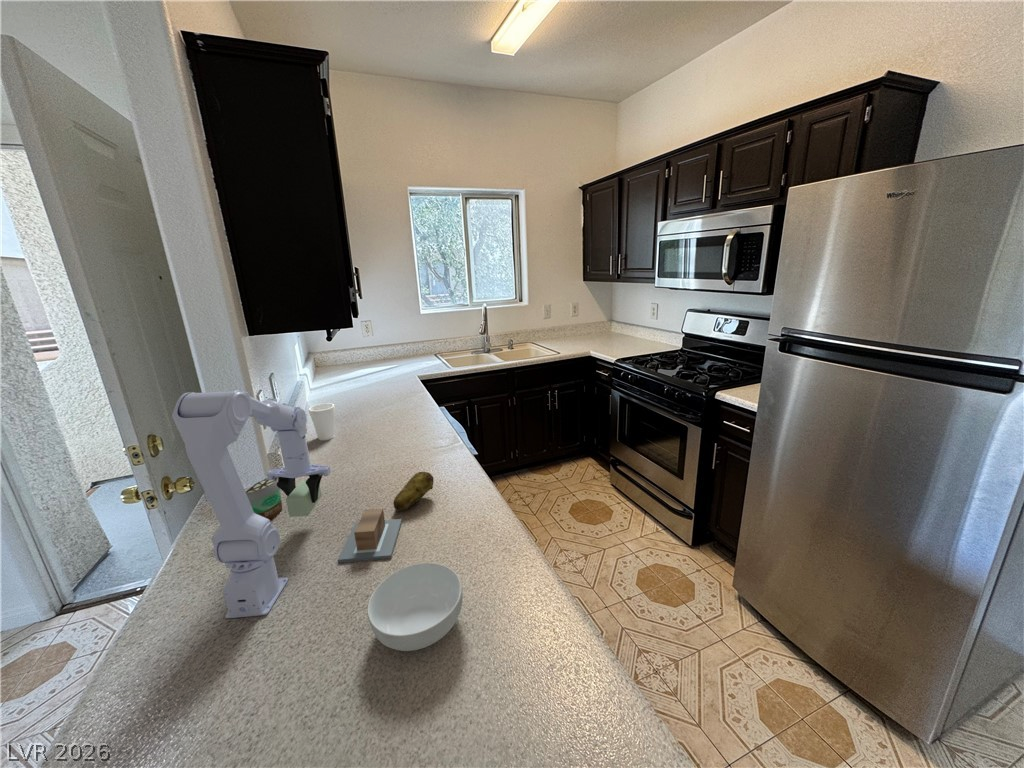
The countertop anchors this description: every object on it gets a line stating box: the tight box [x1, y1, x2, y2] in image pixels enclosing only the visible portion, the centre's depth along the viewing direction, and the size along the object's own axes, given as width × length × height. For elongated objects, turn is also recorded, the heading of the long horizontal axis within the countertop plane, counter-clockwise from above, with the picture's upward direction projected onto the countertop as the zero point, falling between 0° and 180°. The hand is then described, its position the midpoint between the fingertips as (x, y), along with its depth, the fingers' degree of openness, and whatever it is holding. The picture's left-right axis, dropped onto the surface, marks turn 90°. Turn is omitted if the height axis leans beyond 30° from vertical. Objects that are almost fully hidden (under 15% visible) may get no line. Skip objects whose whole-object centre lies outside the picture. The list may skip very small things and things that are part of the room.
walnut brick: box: [354, 508, 386, 551], centre depth 97 cm, size 9×4×5 cm, turn 4°
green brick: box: [285, 479, 322, 518], centre depth 102 cm, size 9×4×5 cm, turn 5°
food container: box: [245, 477, 283, 521], centre depth 109 cm, size 12×6×10 cm, turn 168°
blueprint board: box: [337, 518, 403, 563], centre depth 98 cm, size 14×12×1 cm
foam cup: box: [308, 402, 336, 441], centre depth 160 cm, size 10×9×13 cm
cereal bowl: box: [366, 562, 463, 652], centre depth 73 cm, size 17×17×7 cm
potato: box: [392, 471, 435, 512], centre depth 113 cm, size 8×13×8 cm, turn 125°
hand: (305, 501), depth 102 cm, fingers closed on green brick, 4 cm apart
